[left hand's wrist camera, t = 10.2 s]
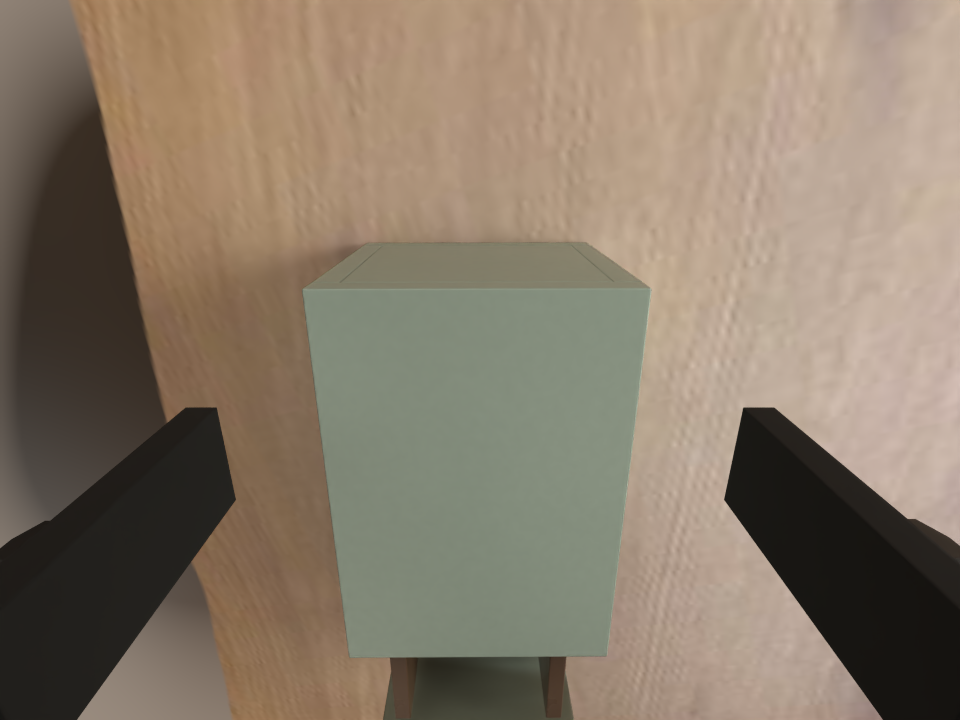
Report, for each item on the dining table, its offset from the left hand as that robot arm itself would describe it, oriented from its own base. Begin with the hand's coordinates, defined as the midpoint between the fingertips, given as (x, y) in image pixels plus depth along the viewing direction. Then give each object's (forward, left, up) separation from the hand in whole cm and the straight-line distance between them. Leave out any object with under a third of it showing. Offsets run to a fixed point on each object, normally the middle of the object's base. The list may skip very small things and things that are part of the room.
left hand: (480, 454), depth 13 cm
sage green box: (+5, +1, -16) cm, 17 cm away
